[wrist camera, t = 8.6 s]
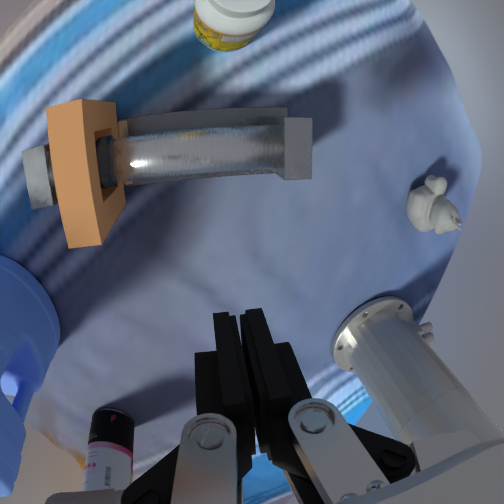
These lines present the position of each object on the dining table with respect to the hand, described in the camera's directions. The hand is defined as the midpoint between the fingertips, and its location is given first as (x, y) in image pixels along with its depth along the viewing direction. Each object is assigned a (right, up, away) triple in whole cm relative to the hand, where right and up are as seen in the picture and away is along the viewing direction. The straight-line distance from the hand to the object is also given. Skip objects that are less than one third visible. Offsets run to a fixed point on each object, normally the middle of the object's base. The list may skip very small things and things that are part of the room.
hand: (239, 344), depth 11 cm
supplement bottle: (-2, +23, +11) cm, 25 cm away
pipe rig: (-7, +12, +14) cm, 20 cm away
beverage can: (-20, -22, +28) cm, 41 cm away
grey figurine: (+19, +10, +21) cm, 30 cm away
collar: (-12, +12, +14) cm, 21 cm away
